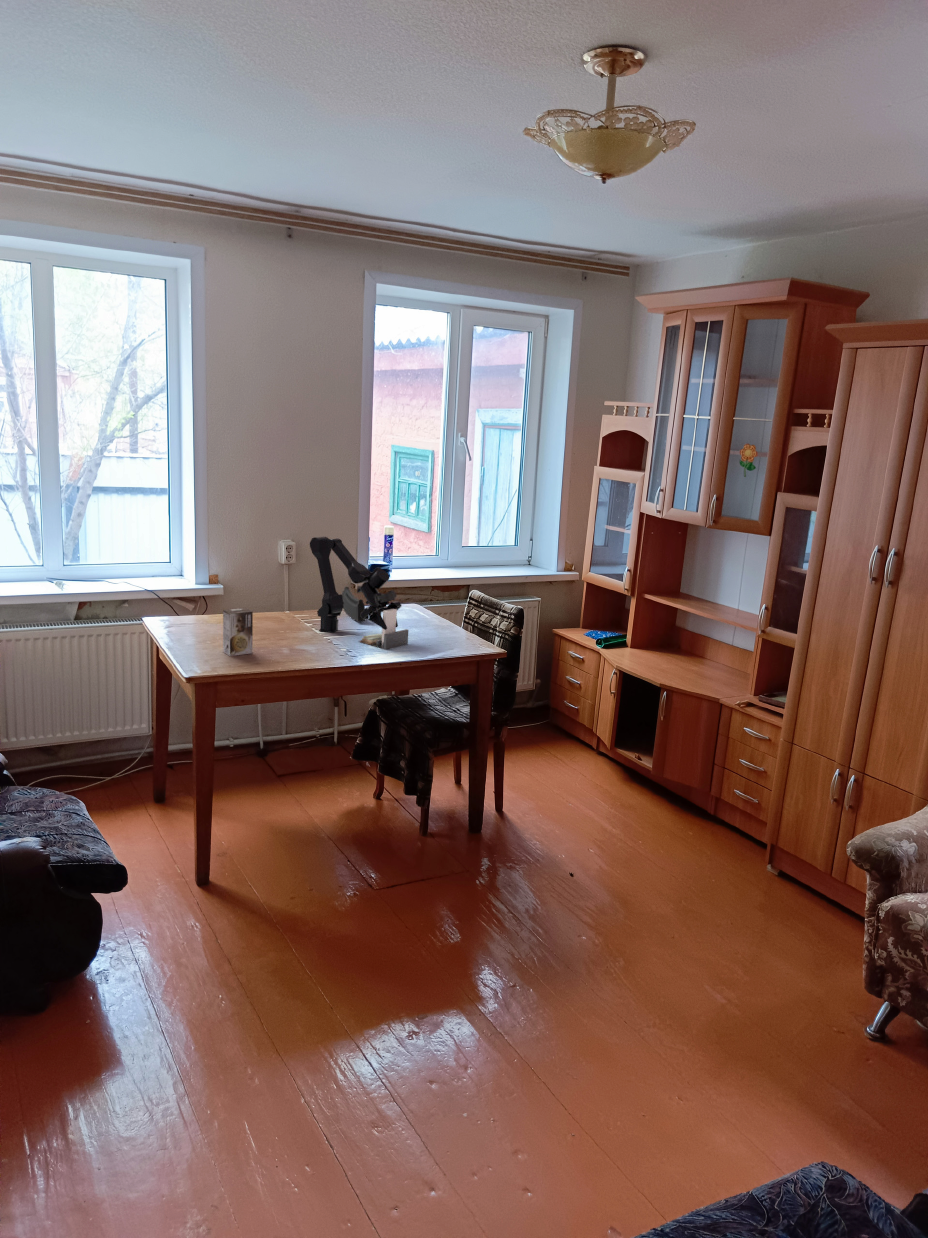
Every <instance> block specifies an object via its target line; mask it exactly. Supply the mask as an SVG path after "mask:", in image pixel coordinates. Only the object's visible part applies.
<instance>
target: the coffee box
mask: <svg viewBox="0 0 928 1238" xmlns="http://www.w3.org/2000/svg"><path fill="white" fill-rule="evenodd" d="M253 613H254V612H253V610H251V609H249V608H247V607H243V608H242V607H240V608H232V609H231V608H230V609H223V611H222V620H223V621H222V628H223V629H222V636H223V637H222V652H223V653H224V654H226V655H227V656H229V657H232V656H241V655H246V654H253V644H254V643H253V640H254V639H253V628H254V627H253V625H254V624H253V622H254V621H253V617H254V614H253Z"/></svg>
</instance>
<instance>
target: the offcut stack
mask: <svg viewBox="0 0 928 1238" xmlns="http://www.w3.org/2000/svg"><path fill="white" fill-rule="evenodd" d="M381 639H382V633H376V634H369V635H363V636H362V638H361V639H360V640H359V641H360V642H363V643H367V644H370V645H372V644H376V642H377V640H381ZM363 643H362V644H363ZM367 644H366V645H367ZM370 645H369V646H370Z"/></svg>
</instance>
